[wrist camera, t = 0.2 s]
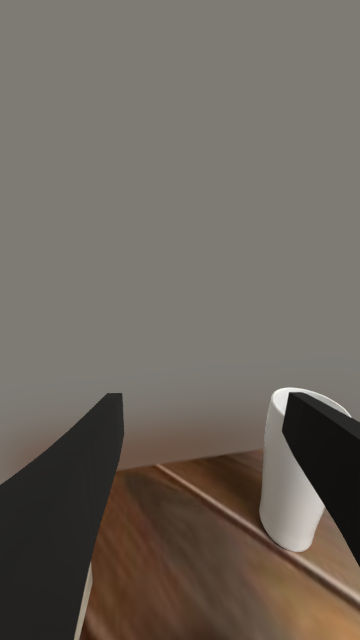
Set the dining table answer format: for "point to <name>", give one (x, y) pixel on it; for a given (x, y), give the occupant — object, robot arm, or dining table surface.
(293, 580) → the dining table surface
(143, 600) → the dining table surface
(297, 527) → the drinking glass
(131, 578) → the dining table surface
